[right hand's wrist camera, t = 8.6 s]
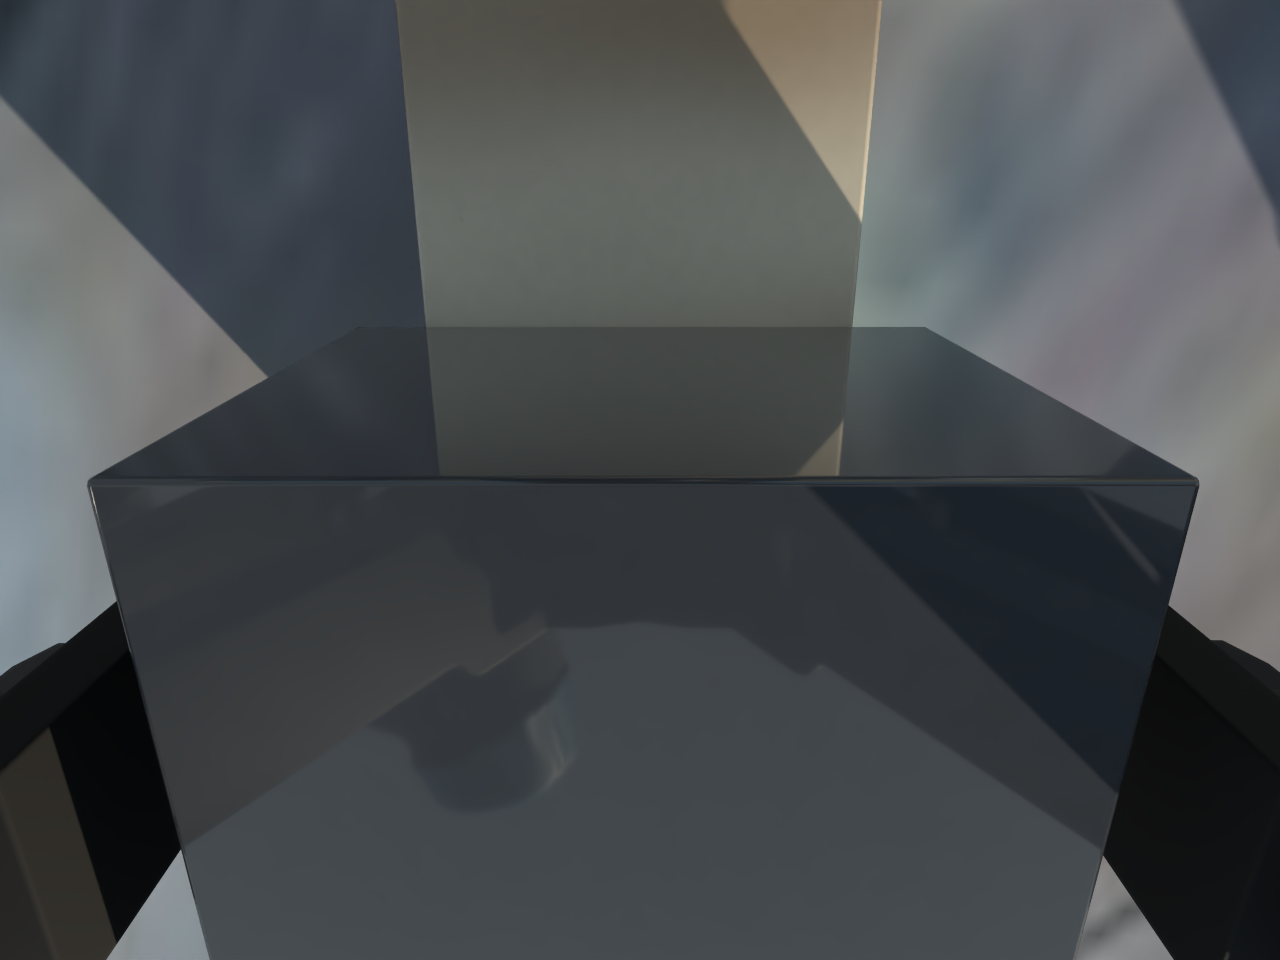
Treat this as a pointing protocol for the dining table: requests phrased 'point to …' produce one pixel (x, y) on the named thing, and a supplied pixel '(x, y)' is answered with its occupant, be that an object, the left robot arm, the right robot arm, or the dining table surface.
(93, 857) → the right robot arm
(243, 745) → the slate block
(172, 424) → the dining table surface
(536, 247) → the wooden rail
